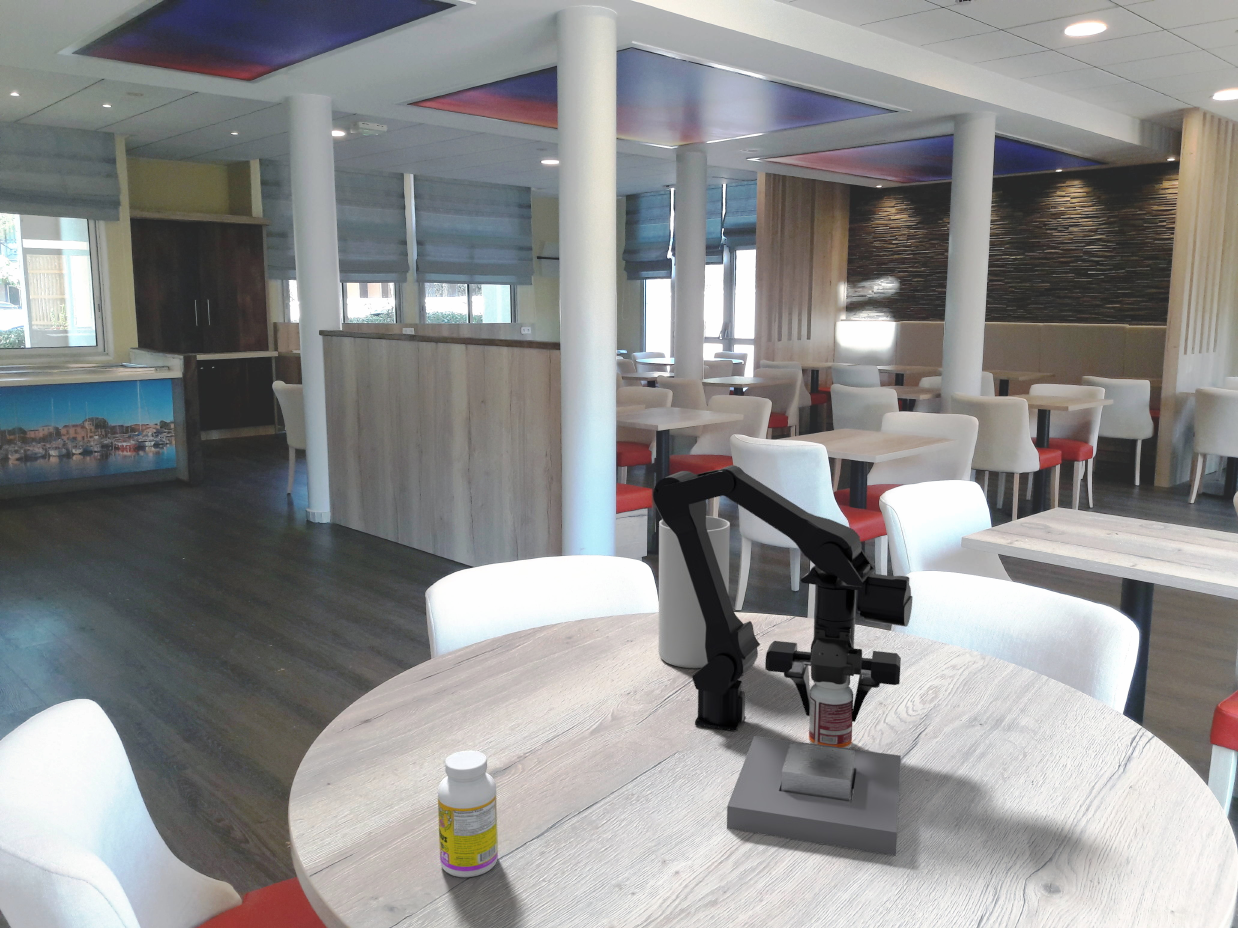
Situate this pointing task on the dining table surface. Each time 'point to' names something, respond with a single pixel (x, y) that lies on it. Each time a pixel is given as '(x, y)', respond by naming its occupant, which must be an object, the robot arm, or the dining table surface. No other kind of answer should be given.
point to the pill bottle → (831, 714)
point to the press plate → (818, 801)
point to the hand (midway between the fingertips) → (830, 717)
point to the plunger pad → (818, 771)
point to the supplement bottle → (467, 816)
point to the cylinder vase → (685, 596)
